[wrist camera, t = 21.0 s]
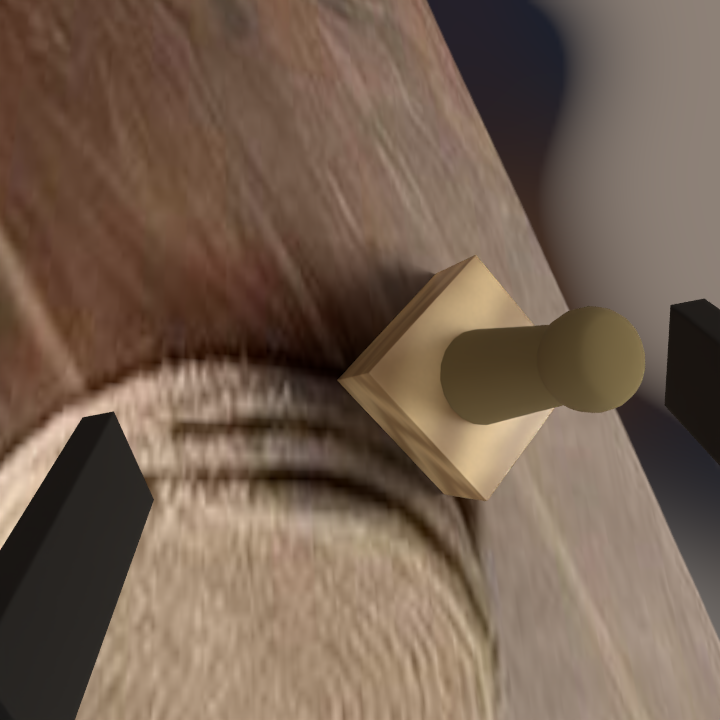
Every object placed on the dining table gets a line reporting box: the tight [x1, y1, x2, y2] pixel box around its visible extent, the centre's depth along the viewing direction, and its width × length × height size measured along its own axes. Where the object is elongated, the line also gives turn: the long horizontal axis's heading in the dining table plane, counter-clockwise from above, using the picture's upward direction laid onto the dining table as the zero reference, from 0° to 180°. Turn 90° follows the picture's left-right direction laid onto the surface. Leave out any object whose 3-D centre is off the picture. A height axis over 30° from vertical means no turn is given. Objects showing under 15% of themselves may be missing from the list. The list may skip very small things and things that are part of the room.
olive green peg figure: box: [440, 306, 645, 425], centre depth 34 cm, size 6×6×11 cm
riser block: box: [337, 255, 554, 501], centre depth 41 cm, size 11×11×5 cm
